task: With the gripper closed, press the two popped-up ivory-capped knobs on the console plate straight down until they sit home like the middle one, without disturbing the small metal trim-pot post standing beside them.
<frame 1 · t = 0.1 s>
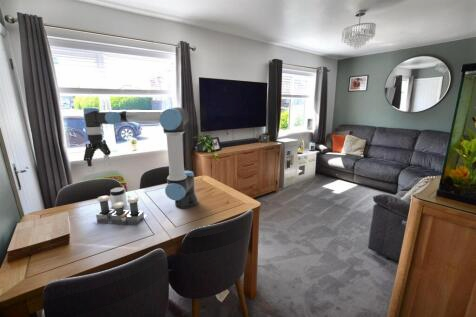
hand: (100, 168, 137), 28 cm above the table, fingers open, 13 cm apart
knob mid: (119, 211, 129), point 6 cm above the table, slide at 3.8 cm
console: (121, 220, 130), on the table
knob 2: (133, 206, 127), point 10 cm above the table, slide at 0.0 cm
jar: (119, 206, 148), on the table
knob 1: (104, 204, 129), point 10 cm above the table, slide at 0.0 cm
trim pot: (124, 222, 126), point 1 cm above the table, touching console
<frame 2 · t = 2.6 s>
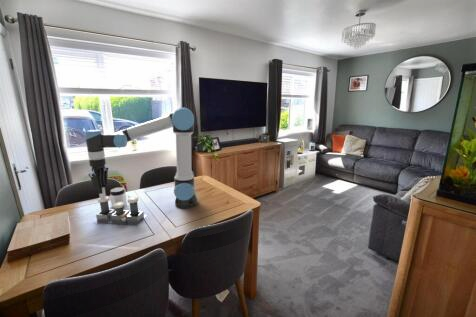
hand: (102, 197, 127), 14 cm above the table, fingers closed
knob 1: (104, 205, 129), point 9 cm above the table, slide at 0.5 cm, touching gripper
everything else where it was.
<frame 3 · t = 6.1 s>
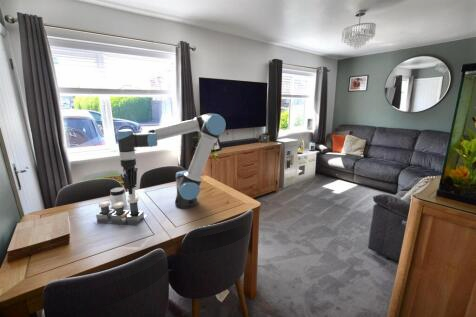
hand: (132, 198, 126), 14 cm above the table, fingers closed
knob 2: (133, 206, 127), point 10 cm above the table, slide at 0.1 cm, touching gripper
knob 1: (105, 210, 130), point 6 cm above the table, slide at 3.7 cm
everything else where it was.
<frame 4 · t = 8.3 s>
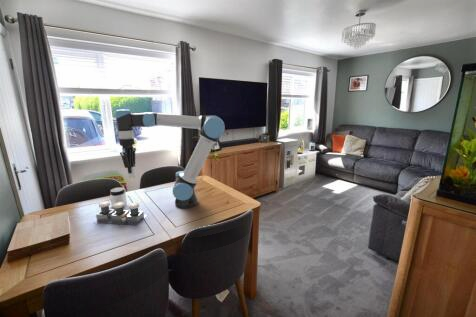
hand: (131, 177, 129), 25 cm above the table, fingers closed
knob 2: (134, 212, 128), point 6 cm above the table, slide at 3.7 cm
everything else where it was.
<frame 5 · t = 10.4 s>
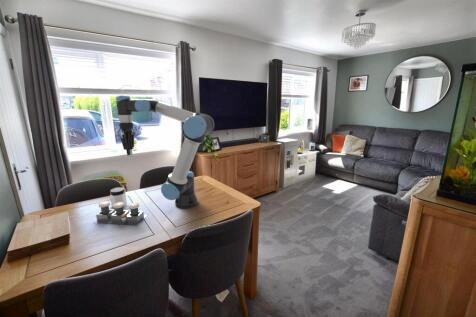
hand: (130, 159, 140), 32 cm above the table, fingers closed
nothing on the table moved.
at the end: knob 1 slide at 3.7 cm; knob 2 slide at 3.7 cm; trim pot moved 0.0 cm from its start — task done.
